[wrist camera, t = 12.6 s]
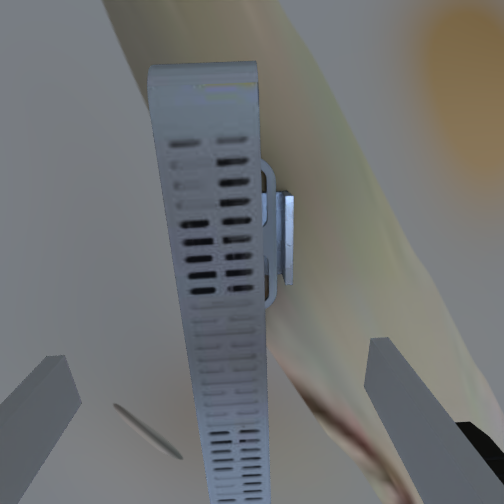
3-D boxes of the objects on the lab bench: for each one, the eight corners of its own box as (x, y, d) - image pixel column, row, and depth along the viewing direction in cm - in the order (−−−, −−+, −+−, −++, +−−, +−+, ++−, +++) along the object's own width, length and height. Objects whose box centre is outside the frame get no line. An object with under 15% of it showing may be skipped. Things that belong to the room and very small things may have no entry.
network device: (188, 123, 27) (67, 53, 8) (274, 119, 27) (343, 42, 9) (212, 333, 36) (178, 528, 17) (276, 329, 36) (313, 519, 17)
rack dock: (178, 195, 31) (168, 201, 27) (286, 190, 31) (293, 196, 27) (189, 273, 35) (181, 290, 30) (286, 268, 35) (292, 284, 31)
